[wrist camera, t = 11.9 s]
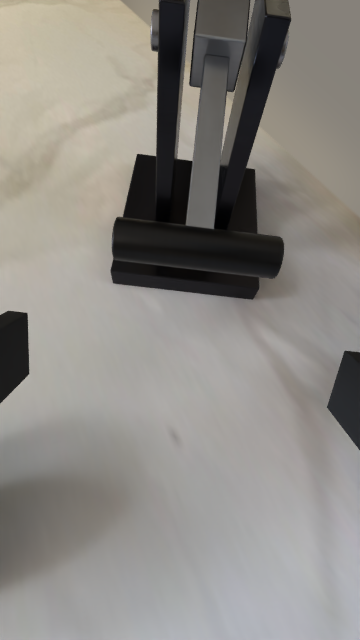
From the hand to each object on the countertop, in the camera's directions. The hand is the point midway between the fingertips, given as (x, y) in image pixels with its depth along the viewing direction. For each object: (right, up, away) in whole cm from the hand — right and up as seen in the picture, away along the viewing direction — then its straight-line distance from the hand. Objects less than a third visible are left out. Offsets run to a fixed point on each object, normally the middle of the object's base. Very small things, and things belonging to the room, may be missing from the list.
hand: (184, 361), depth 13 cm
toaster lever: (+1, +10, +2) cm, 10 cm away
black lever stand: (+1, +9, +12) cm, 15 cm away
